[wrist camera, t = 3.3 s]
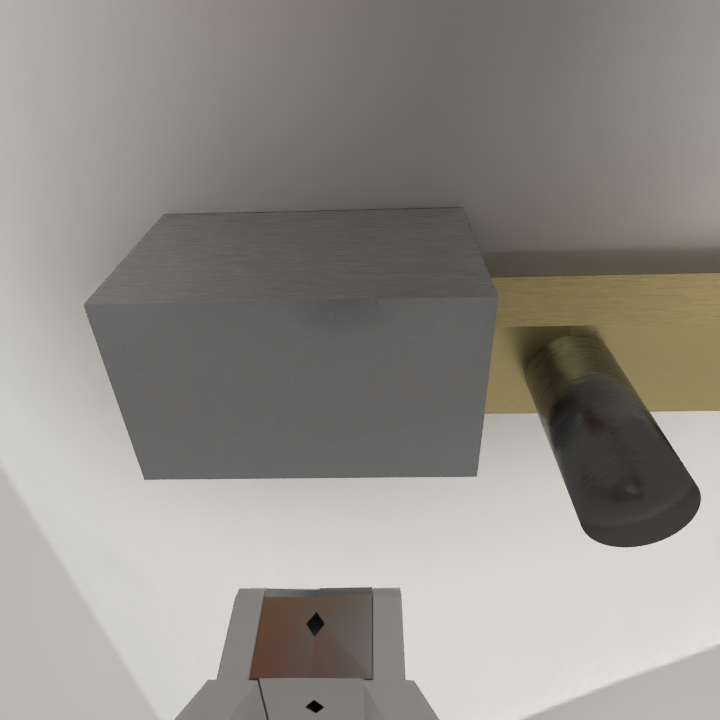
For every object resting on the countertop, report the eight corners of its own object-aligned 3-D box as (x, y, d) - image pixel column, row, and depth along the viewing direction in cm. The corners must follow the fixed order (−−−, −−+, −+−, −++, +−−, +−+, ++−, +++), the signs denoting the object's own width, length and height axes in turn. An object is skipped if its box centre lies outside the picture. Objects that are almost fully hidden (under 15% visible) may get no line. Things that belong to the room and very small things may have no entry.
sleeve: (163, 214, 19) (83, 304, 14) (462, 207, 18) (498, 296, 13) (197, 362, 22) (144, 479, 17) (451, 357, 22) (476, 476, 17)
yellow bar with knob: (153, 284, 18) (23, 464, 11) (796, 271, 17) (1062, 453, 11) (173, 362, 19) (71, 558, 13) (759, 353, 19) (970, 554, 12)
